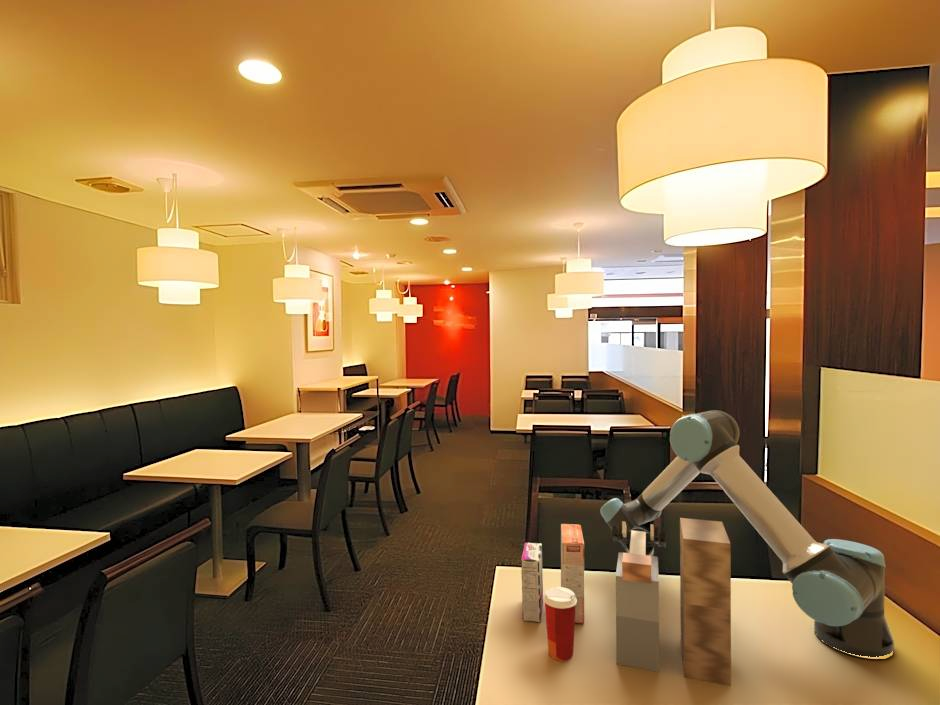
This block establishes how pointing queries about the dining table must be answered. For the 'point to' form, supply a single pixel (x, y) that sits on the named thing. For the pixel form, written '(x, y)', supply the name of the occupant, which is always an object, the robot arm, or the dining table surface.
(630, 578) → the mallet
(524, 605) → the candy bar box
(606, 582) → the dining table surface
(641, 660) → the short tower
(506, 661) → the dining table surface
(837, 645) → the robot arm
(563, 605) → the paper cup
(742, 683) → the dining table surface
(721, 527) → the tall tower
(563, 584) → the cracker box
